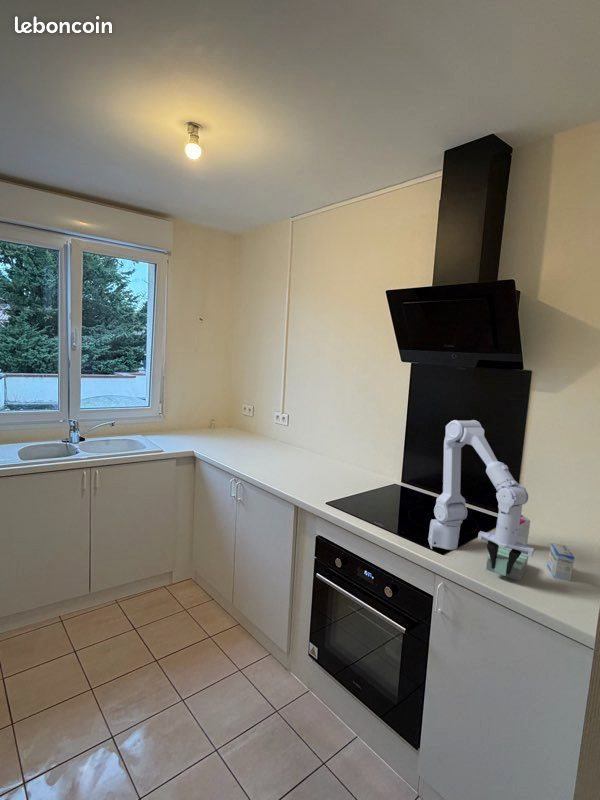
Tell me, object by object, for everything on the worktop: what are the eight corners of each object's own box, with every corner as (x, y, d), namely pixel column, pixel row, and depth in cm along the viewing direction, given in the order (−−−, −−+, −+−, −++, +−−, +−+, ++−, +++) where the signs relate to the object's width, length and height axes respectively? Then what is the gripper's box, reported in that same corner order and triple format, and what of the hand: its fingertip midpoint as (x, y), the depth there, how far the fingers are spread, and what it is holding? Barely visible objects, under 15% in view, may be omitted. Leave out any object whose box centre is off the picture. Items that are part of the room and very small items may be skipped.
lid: (483, 567, 123) (485, 553, 123) (496, 551, 135) (498, 538, 134) (517, 580, 118) (519, 566, 117) (527, 562, 129) (529, 549, 128)
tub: (485, 571, 126) (487, 558, 126) (495, 559, 135) (497, 546, 134) (518, 584, 121) (520, 569, 120) (525, 570, 129) (528, 557, 129)
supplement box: (516, 544, 147) (521, 513, 146) (526, 552, 141) (531, 520, 140) (501, 543, 147) (505, 512, 146) (510, 551, 141) (514, 519, 140)
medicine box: (546, 567, 132) (550, 542, 131) (562, 571, 131) (566, 545, 130) (553, 580, 125) (558, 553, 123) (570, 584, 123) (575, 556, 122)
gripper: (477, 521, 121) (471, 565, 123) (533, 539, 112) (525, 585, 114) (484, 515, 126) (478, 557, 128) (537, 531, 117) (530, 576, 119)
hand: (500, 570), depth 121 cm, fingers open, 3 cm apart
